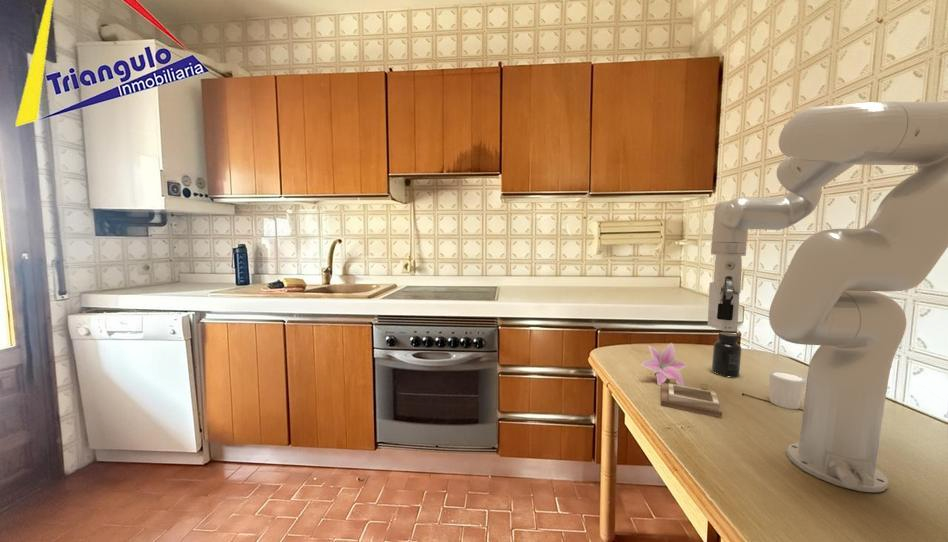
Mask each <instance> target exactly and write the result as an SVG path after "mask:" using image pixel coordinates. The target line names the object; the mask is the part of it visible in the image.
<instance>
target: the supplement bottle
mask: <svg viewBox="0 0 948 542" xmlns="http://www.w3.org/2000/svg"><path fill="white" fill-rule="evenodd" d="M717 339H718V340H717V341H715V342H714V344H713V349H712V351H713V352H712V362H711V363H712V364H711V371H712V370H713V371H714V372H716V373H718V374H721V375H725V376H724V377H726V376H730V377H729V378H737V377H739V376H740V369H741V358H742V347H741V345H740V344H738V342H739V335H738V334H735V333H732V332H726V331H722V332H718V337H717ZM713 371H712V372H713ZM714 372H713V373H714ZM716 373H715V374H716ZM718 374H717V375H718ZM721 375H720V376H721Z"/></svg>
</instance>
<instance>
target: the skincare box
mask: <svg viewBox="0 0 948 542" xmlns="http://www.w3.org/2000/svg"><path fill="white" fill-rule="evenodd" d="M708 292H709V293H708V309H707V310H708V312H707V326H708V327H711V328H714V329H717V330H719V331H722V332H738V328H739V327H738V326H739V312H740V311H739V309H740V308H739V307H740V306H739V305H740V294H738V295H736V294H737V293H736V292H734V288H733V305H734V306H733V317H732V320H731V321H730V320H720V319H717V311H718V303H719V304H720V293H718V292H717V291H716V289H715V283H714V281H710V282H709V290H708ZM722 292H726V286H725V285H724V289H723V290H722ZM723 296H724V295H723Z"/></svg>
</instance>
